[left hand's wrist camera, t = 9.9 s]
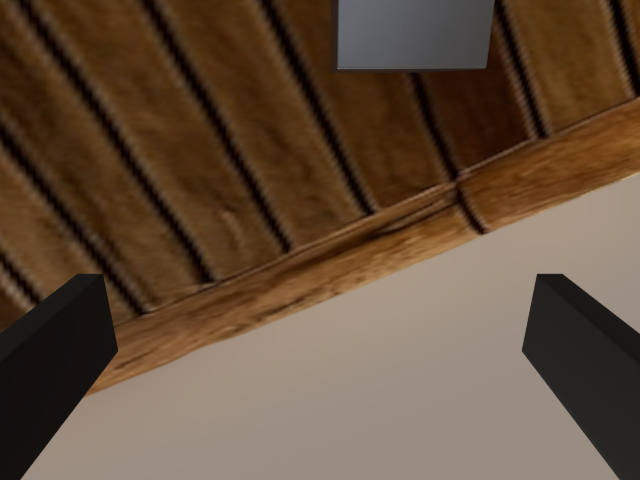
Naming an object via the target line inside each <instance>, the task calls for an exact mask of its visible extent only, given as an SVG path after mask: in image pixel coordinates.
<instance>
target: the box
mask: <svg viewBox="0 0 640 480" xmlns="http://www.w3.org/2000/svg"><path fill="white" fill-rule="evenodd" d="M494 2H495V0H331V73H397V72H441V71H457V70H472V69H485V68H486V64H487V56H488V48H489V41H490V33H491V25H492V17H493V9H494Z"/></svg>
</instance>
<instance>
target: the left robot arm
mask: <svg viewBox="0 0 640 480" xmlns="http://www.w3.org/2000/svg"><path fill="white" fill-rule="evenodd" d="M117 352H118V347H117V342H116V337H115V332H114V327H113V322H112V317H111V312H110V307H109V302H108V297H107V292H106V287H105V282H104V277H103V274H77V275H76V276H74V277H73V278H72V279H70V280H69V281H68V282H67V283H65V284H64V285H63V286H61V287H60V288H59V289H57V290H56V291H55V292H54V293H52V294H51V295H50V296H48V297H47V298H46V299H45V300H43V301H42V302H41V303H39V304H38V305H37V306H36V307H34V308H33V309H32V310H30V311H29V312H28V313H27V314H25V315H24V316H23V317H21V318H20V319H19V320H18V321H16V322H15V323H14V324H12V325H11V326H10V327H8V328H7V329H6V330H5V331H3V332H2V333H1V334H0V480H20V479H21V478H22V477H23V476H24V474H25V473H26V472H27V470H28V469H29V468H30V466H31V465H32V464H33V462H34V461H35V460H36V458H37V457H38V456H39V454H40V453H41V452H42V451H43V449H44V448H45V447H46V445H47V444H48V443H49V441H50V440H51V439H52V437H53V436H54V435H55V433H56V432H57V431H58V430H59V428H60V427H61V426H62V424H63V423H64V422H65V420H66V419H67V418H68V416H69V415H70V414H71V412H72V411H73V410H74V409H75V407H76V406H77V405H78V403H79V402H80V401H81V399H82V398H83V397H84V395H85V394H86V393H87V391H88V390H89V389H90V387H91V386H92V385H93V384H94V382H95V381H96V380H97V378H98V377H99V376H100V374H101V373H102V372H103V370H104V369H105V368H106V366H107V365H108V364H109V363H110V361H111V360H112V359H113V357H114V356H115V355H116V353H117ZM522 352H523V353H524V355H525V356H526V357H527V359H528V360H529V361H530V362H531V364H532V365H533V366H534V368H535V369H536V370H537V372H538V373H539V374H540V376H541V377H542V378H543V380H544V381H545V382H546V384H547V385H548V386H549V387H550V389H551V390H552V391H553V393H554V394H555V395H556V397H557V398H558V399H559V401H560V402H561V403H562V405H563V406H564V407H565V408H566V410H567V411H568V412H569V414H570V415H571V416H572V418H573V419H574V420H575V422H576V423H577V424H578V426H579V427H580V428H581V430H582V431H583V432H584V433H585V435H586V436H587V437H588V439H589V440H590V441H591V443H592V444H593V445H594V447H595V448H596V449H597V451H598V452H599V453H600V454H601V456H602V457H603V458H604V460H605V461H606V462H607V464H608V465H609V466H610V468H611V469H612V470H613V471H614V473H615V474H616V476H617V477H618V478H619V479H620V480H640V334H639V333H638V332H637V331H635V330H634V329H633V328H632V327H630V326H629V325H628V324H626V323H625V322H624V321H622V320H621V319H620V318H619V317H617V316H616V315H615V314H613V313H612V312H611V311H610V310H608V309H607V308H606V307H604V306H603V305H602V304H601V303H599V302H598V301H597V300H595V299H594V298H593V297H592V296H590V295H589V294H588V293H586V292H585V291H584V290H582V289H581V288H580V287H579V286H577V285H576V284H575V283H573V282H572V281H571V280H569V279H568V278H567V277H566V276H564V275H563V274H537V277H536V282H535V287H534V292H533V297H532V302H531V307H530V312H529V317H528V322H527V327H526V333H525V337H524V342H523V347H522Z"/></svg>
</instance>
